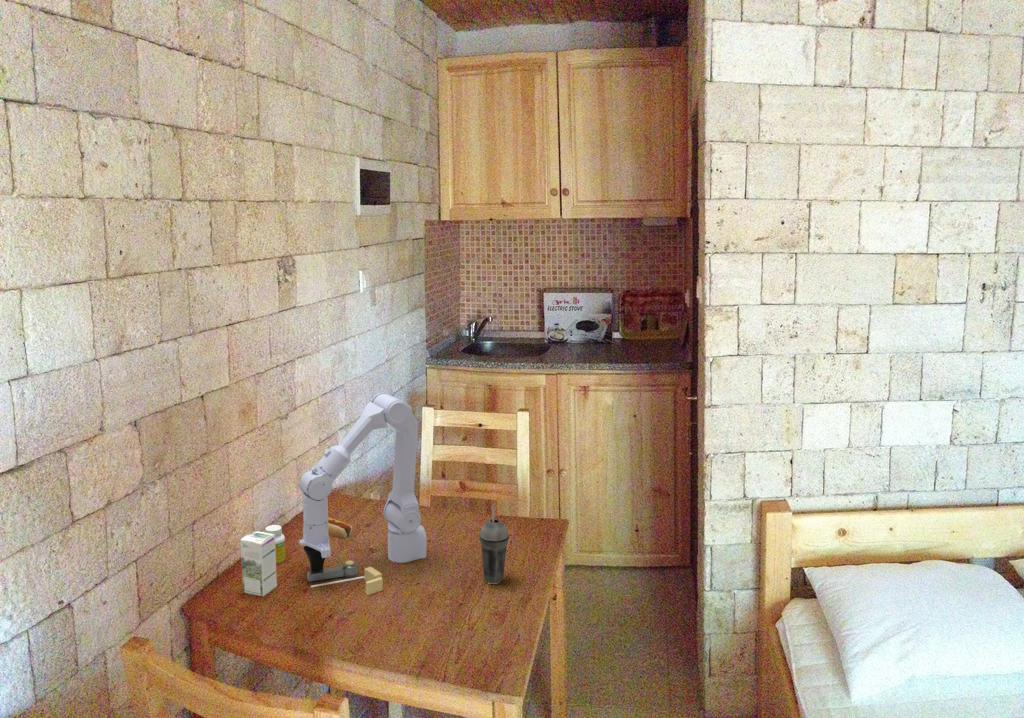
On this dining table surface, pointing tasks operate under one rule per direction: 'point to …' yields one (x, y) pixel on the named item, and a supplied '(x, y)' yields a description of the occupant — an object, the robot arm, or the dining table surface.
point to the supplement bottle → (278, 542)
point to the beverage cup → (493, 549)
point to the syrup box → (258, 563)
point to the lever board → (370, 575)
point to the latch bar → (333, 573)
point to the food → (339, 528)
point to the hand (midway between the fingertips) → (317, 574)
